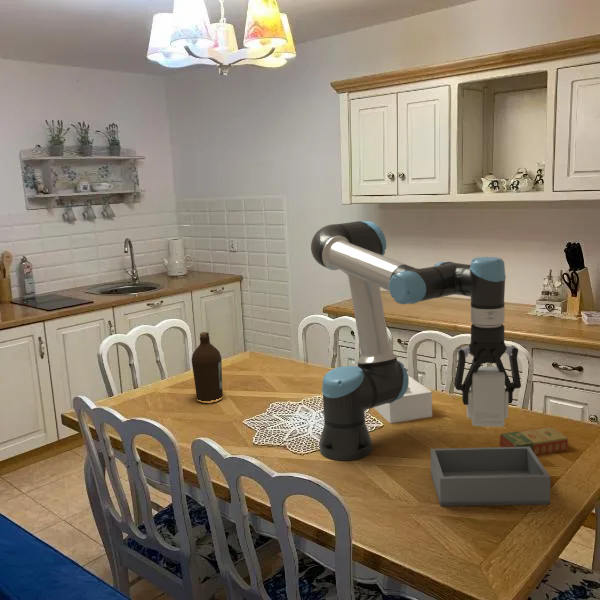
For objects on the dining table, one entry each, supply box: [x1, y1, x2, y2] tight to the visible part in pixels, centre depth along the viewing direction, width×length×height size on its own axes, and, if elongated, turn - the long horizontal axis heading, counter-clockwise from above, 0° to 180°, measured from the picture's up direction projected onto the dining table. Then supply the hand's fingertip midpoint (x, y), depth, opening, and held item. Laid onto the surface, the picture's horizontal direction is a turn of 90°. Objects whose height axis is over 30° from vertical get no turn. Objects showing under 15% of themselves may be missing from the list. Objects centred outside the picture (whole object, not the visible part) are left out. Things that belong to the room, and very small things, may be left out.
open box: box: [430, 446, 551, 507], centre depth 151 cm, size 25×16×7 cm, turn 86°
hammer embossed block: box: [373, 375, 433, 424], centre depth 207 cm, size 14×25×11 cm, turn 15°
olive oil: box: [191, 331, 224, 401], centre depth 222 cm, size 11×11×25 cm
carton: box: [499, 426, 569, 456], centre depth 172 cm, size 8×16×4 cm, turn 101°
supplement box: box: [470, 366, 506, 428], centre depth 147 cm, size 7×7×13 cm
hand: (487, 416), depth 148 cm, fingers closed on supplement box, 8 cm apart
